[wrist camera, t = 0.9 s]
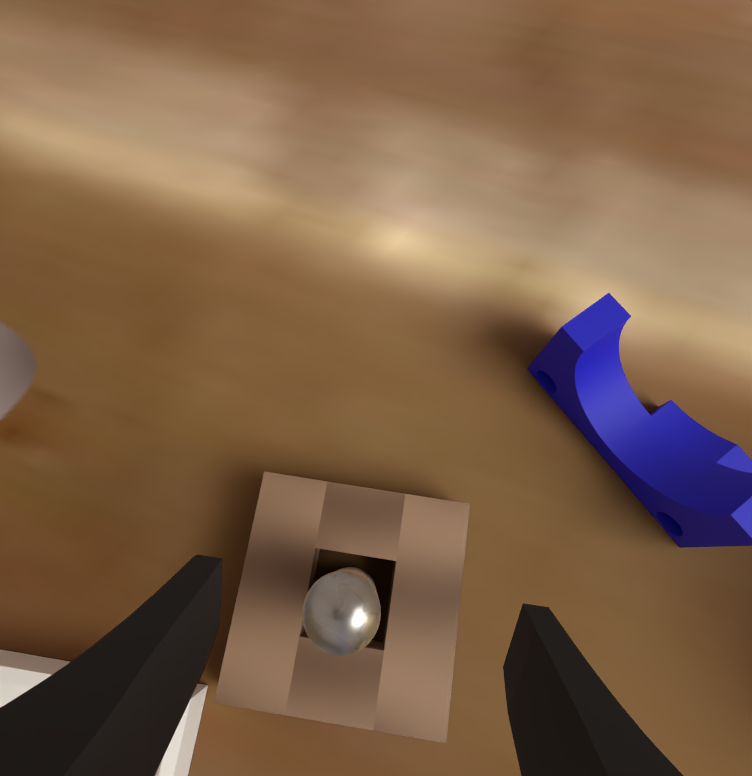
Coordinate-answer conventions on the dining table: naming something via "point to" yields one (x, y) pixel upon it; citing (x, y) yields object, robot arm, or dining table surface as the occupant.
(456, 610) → the square hole board
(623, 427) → the cable clip
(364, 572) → the steel pin
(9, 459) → the dining table surface
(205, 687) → the tray
